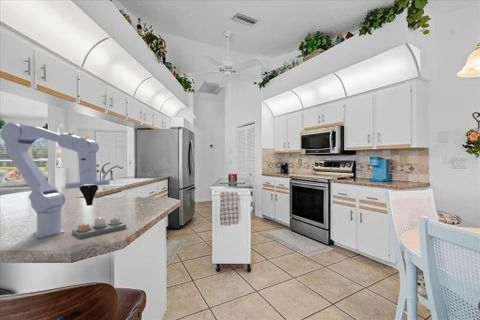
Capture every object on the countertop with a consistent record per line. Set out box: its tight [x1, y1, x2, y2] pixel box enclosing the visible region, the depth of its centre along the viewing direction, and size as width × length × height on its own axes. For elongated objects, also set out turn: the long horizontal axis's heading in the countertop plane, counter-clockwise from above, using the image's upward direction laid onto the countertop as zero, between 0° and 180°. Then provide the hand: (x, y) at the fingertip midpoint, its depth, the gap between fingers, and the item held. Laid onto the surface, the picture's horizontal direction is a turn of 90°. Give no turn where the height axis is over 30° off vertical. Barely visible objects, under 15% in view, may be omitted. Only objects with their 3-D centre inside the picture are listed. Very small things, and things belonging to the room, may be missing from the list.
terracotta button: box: [77, 223, 91, 233], centre depth 87 cm, size 4×4×4 cm
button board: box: [71, 221, 127, 239], centre depth 91 cm, size 10×16×2 cm, turn 139°
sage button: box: [109, 217, 121, 226], centre depth 95 cm, size 4×4×4 cm
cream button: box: [94, 216, 106, 228], centre depth 91 cm, size 4×4×4 cm
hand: (89, 205), depth 90 cm, fingers closed
